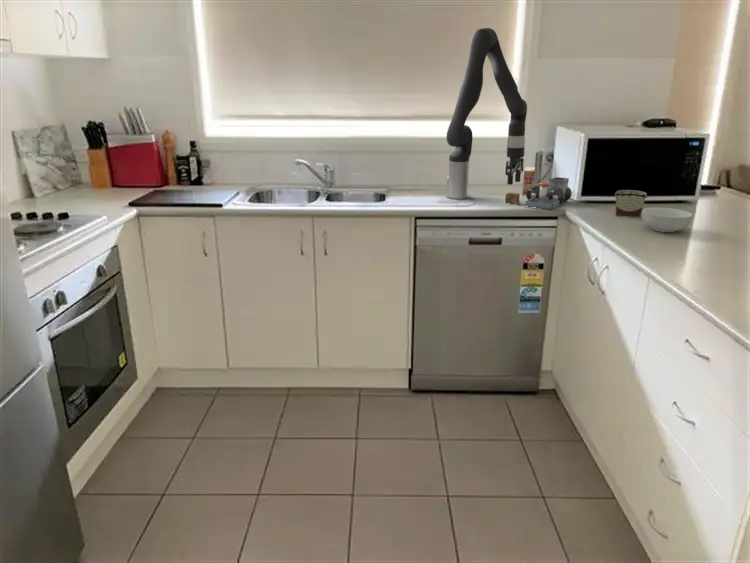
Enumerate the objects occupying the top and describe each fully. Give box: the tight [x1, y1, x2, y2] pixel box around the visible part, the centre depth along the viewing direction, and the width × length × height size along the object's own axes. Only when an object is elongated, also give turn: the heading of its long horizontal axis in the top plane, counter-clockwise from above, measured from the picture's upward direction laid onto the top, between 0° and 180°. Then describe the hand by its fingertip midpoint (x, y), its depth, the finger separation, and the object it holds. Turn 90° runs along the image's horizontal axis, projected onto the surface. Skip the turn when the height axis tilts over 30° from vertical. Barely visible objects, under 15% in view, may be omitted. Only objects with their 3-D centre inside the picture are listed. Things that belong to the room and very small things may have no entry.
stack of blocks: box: [521, 166, 538, 195], centre depth 286 cm, size 21×6×12 cm, turn 164°
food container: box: [613, 189, 648, 218], centre depth 238 cm, size 12×6×10 cm, turn 71°
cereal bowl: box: [641, 206, 693, 233], centre depth 215 cm, size 17×17×7 cm
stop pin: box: [539, 182, 549, 203], centre depth 254 cm, size 4×4×10 cm
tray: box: [524, 198, 561, 211], centre depth 255 cm, size 12×9×3 cm
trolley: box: [525, 150, 573, 206], centre depth 261 cm, size 17×12×22 cm
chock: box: [505, 191, 521, 205], centre depth 263 cm, size 5×4×4 cm
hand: (513, 183), depth 260 cm, fingers open, 8 cm apart
